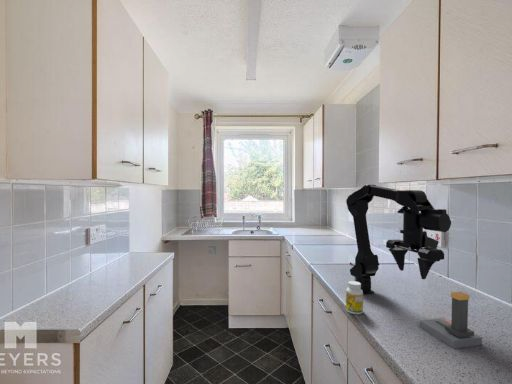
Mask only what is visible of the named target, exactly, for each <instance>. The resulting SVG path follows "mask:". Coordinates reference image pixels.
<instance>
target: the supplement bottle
mask: <svg viewBox="0 0 512 384" xmlns="http://www.w3.org/2000/svg"><path fill="white" fill-rule="evenodd" d="M347 285H348V287H346V290H345V310H346V312H347V313H349V314H352V315H362V314H363V311H364V294H363V291H362V290H361V289H360V288H361V283H359V282H356V281H355V280H350V281H348V283H347Z"/></svg>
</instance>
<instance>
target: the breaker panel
mask: <svg viewBox="0 0 512 384" xmlns="http://www.w3.org/2000/svg"><path fill="white" fill-rule="evenodd" d="M451 322H452V320H451V319H448V318H446V317H440V318H437V317H436V318H431V319H428V318H427V319H420V320H419V328H420V329H422V330H424V331H425V332H427V333H428V334H430V335H432V336H433V337H435V338H436V339H438V340H440V341H442V342H443V343H444V344H446V345H448V346H449V347H451V348H453V349H460V348H466V347H467V348H468V347H475V346H482V345H483V344H482V343H483V337H482V336H480V335H478V334H477V333H475V332H474V336H467V337H457V336H455V335H454V334H452V333H450V332H448V331H447V330H445V326H450V325H451Z"/></svg>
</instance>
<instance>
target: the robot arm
mask: <svg viewBox="0 0 512 384" xmlns="http://www.w3.org/2000/svg"><path fill="white" fill-rule="evenodd" d="M374 197H378V198H383V199H386V200H390V201H394V202H395V203H396V204H398V205H400V206H402V207H401V208H400V209H398V210H397V211H396V212H397V214H403V216H402V217H403V219H402V223H403V224H402V229H400V230H399V233H400V234H402V239H388V240H386V243H385V247H386V249H387V248H388V251H389V252H390V254H391V255H392V257H393V258H394V261H395V263H396V264H397V265H396V266H397V267H398V269H399V270H400V271H401V272H402V271H404V269H405V258H406V254H407V253H408V251H409V252H413V253H416V254H417V256H419V257H417V263H418V268H419V273H420V277H421V280H426V279H427V277H428V275H429V272H430V269H431V268H432V266H433V265H434V264H435V263H436V262H440V261H441V260H442V261H443V260H445V252H444V251H443V250H442V249H439V248H438V246H439V242H440V241H439V240H436V239H435V238H432V237H429V236H428V234H427V232H426V231H434V232H440V233H446V232H448V231H449V230H450V229H451V225H452V220H451V218H450V215H449V214H448V213H447V209H443V208H441V209H439V208H438V209H435V208H434V206H433V205H432V203H431V202H430V200H429V199H428V196H427V194H426V193H425V191H423V190H418V189H416V190H414V189H395V188H388V187H385V186H379V185H376V184H364V185H363V186H362V187H361V188H359V189H357V190H356V191H354V192H352V193H351V194H349V195H348V196H347V198H346V200H345V203H346V206H347V210H348V212H349V213H350V215H351V216H352V219H353V225H354V232H355V233H354V234H355V239H356V247H357V253H356V256H355V258H354V261H355V262H354V265H353V266H352V267H351V268H350V269H349V272H350V275H351V276H352V277H354V281H356V282H359V283H361V288H360V289H361V290H362V291H363V295H364V294H375V291H374V290H373V289H372V277H375V276H376V274H377V272H378V270H379V269H380V268H379V266H380V263H379V256H378V254H374V252H373V251H372V248H371V247H372V246H371V242H370V241H371V240H370V235H369V229H368V222H367V213H368V210H369V203H370V202H371V201H373V199H374ZM424 230H425V231H424Z"/></svg>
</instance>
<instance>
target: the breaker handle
mask: <svg viewBox="0 0 512 384" xmlns="http://www.w3.org/2000/svg"><path fill="white" fill-rule="evenodd" d="M450 298H451V321H452V322H451V325H450V326H445V330H447V331H448V332H450V333H452V334H454V335H455V336H457V337H467V336H474V333H475V331H474V330H471V329H469V328H468V321H469V320H468V314H469V311H468V310H469V300H470V294H468V293H466V292H462V291H452V292H450Z"/></svg>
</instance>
